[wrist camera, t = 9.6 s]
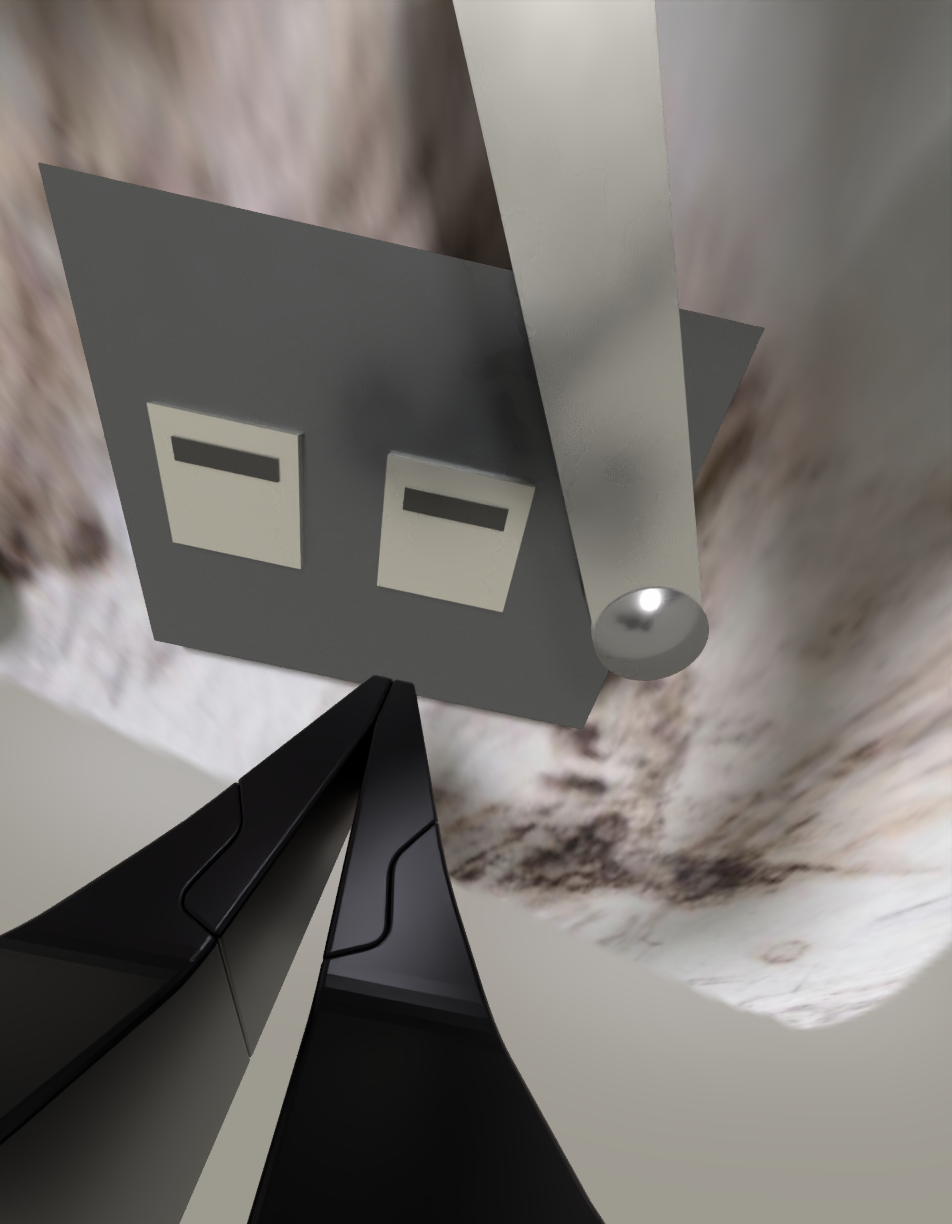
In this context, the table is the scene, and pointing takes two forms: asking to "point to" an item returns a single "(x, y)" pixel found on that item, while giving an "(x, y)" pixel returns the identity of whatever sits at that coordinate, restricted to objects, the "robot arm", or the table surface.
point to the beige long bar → (598, 301)
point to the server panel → (341, 447)
